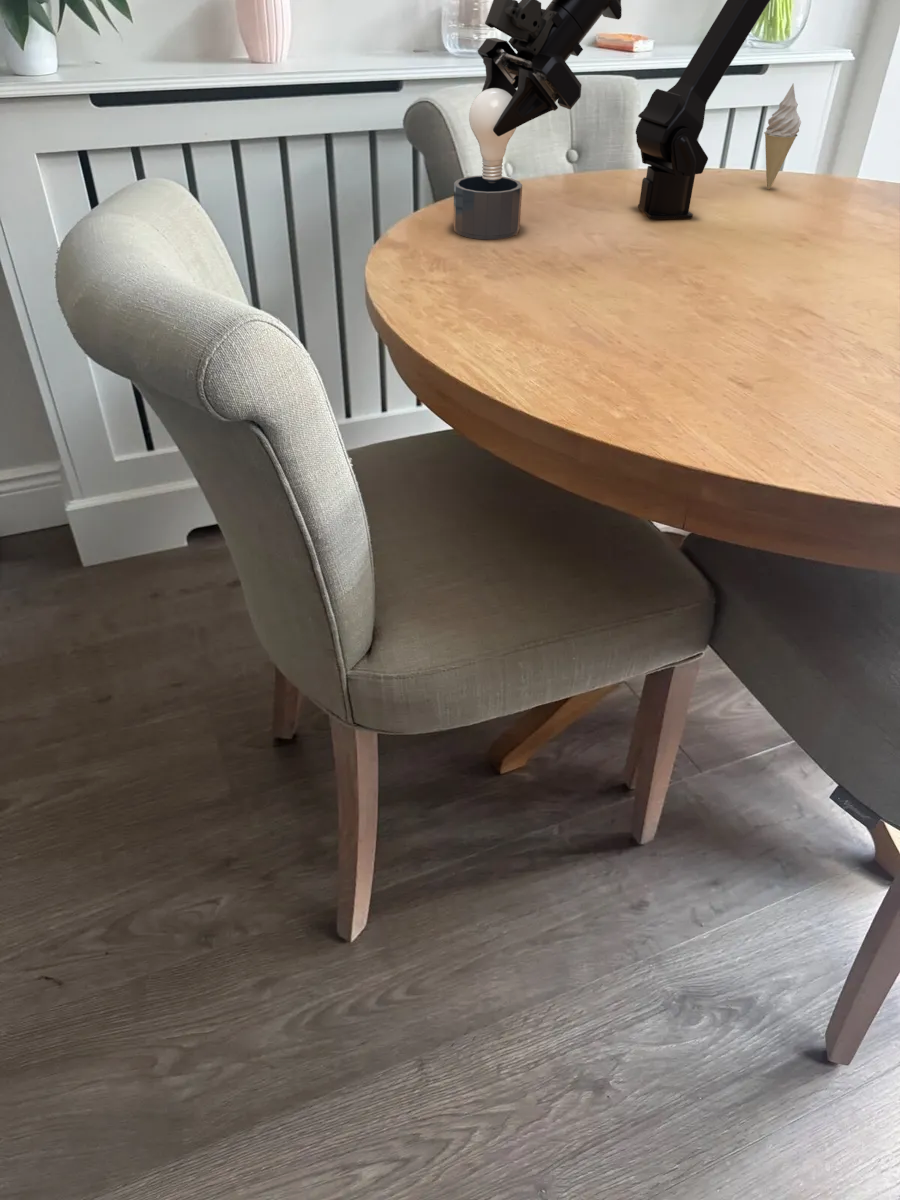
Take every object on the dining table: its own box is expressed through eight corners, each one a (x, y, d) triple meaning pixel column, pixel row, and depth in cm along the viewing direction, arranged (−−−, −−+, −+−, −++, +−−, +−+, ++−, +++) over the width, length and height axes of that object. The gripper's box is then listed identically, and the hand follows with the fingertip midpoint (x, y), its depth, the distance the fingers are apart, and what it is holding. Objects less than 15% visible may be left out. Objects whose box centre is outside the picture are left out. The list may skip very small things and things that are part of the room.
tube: (511, 219, 127) (514, 174, 123) (525, 238, 120) (528, 191, 116) (449, 221, 125) (449, 176, 122) (459, 240, 118) (460, 193, 115)
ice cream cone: (788, 193, 140) (814, 86, 130) (756, 192, 140) (780, 85, 130) (779, 185, 144) (804, 80, 134) (749, 184, 144) (771, 80, 134)
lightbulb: (484, 191, 113) (486, 94, 106) (459, 180, 117) (460, 86, 110) (525, 184, 115) (529, 89, 108) (499, 174, 120) (502, 82, 113)
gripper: (493, -39, 109) (414, 69, 113) (567, -29, 96) (475, 93, 100) (544, 32, 117) (468, 131, 120) (619, 51, 104) (532, 161, 107)
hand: (484, 128), depth 112 cm, fingers closed on lightbulb, 6 cm apart
